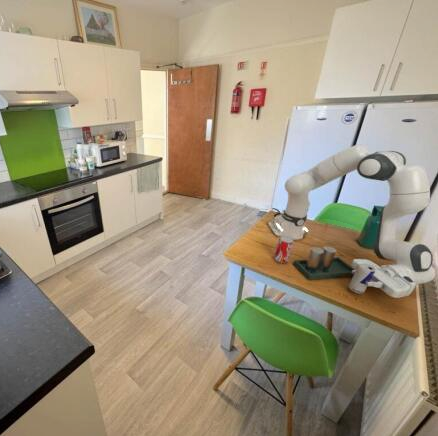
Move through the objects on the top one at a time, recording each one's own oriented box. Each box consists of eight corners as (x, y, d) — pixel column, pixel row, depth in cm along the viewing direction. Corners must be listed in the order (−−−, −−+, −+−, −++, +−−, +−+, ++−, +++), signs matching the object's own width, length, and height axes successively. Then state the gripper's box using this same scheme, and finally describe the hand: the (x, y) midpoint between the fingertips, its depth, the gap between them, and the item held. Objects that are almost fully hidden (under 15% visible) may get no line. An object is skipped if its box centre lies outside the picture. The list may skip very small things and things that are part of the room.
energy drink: (366, 294, 100) (379, 272, 94) (352, 293, 101) (363, 271, 95) (359, 285, 104) (370, 263, 99) (345, 284, 105) (356, 262, 100)
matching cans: (302, 267, 119) (308, 247, 113) (323, 265, 119) (330, 245, 114) (308, 273, 114) (316, 253, 109) (330, 272, 115) (339, 251, 109)
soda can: (270, 255, 129) (276, 235, 123) (284, 255, 128) (290, 235, 122) (276, 264, 122) (282, 242, 116) (291, 263, 122) (297, 242, 116)
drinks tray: (293, 264, 122) (294, 260, 121) (337, 260, 123) (338, 257, 122) (308, 279, 112) (310, 275, 110) (356, 275, 113) (358, 271, 112)
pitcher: (380, 250, 130) (398, 214, 120) (361, 247, 133) (377, 212, 123) (373, 240, 138) (389, 206, 128) (355, 238, 141) (370, 204, 131)
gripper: (371, 254, 108) (342, 256, 107) (420, 287, 90) (386, 289, 89) (366, 265, 111) (337, 267, 110) (412, 299, 93) (379, 301, 92)
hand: (360, 277), depth 99 cm, fingers closed on energy drink, 5 cm apart
